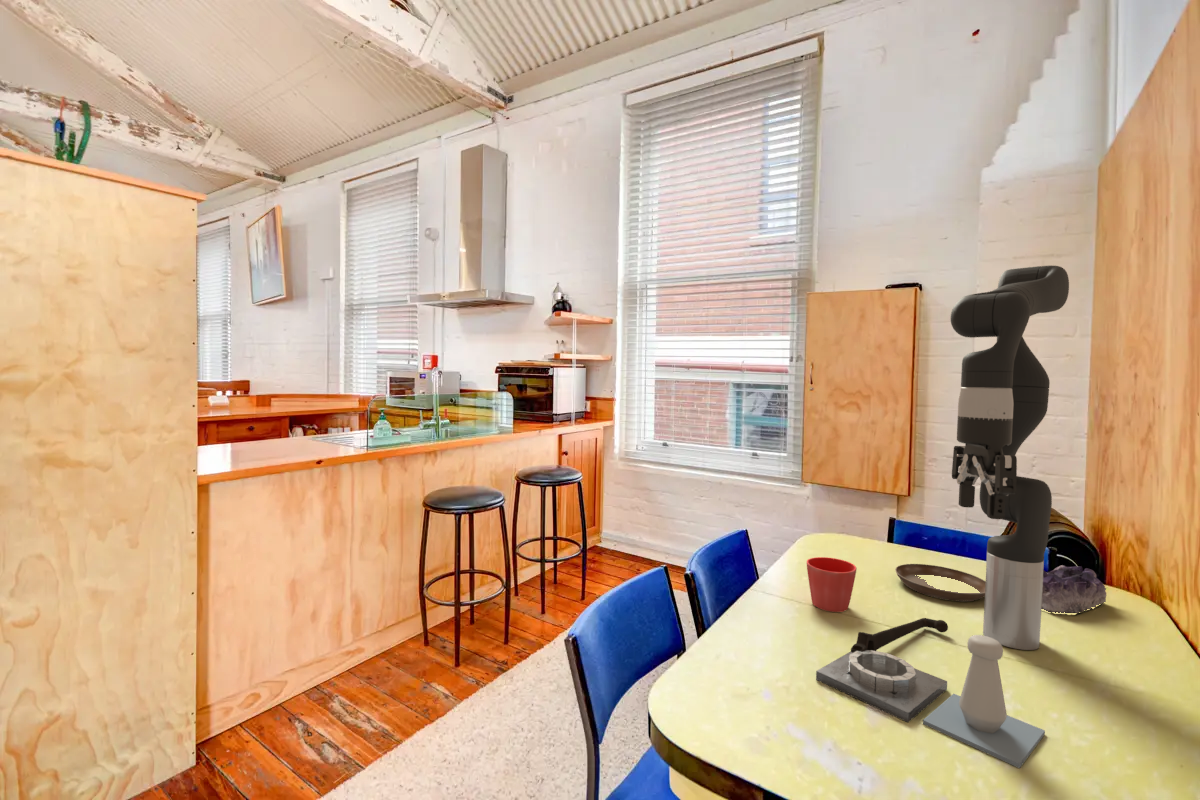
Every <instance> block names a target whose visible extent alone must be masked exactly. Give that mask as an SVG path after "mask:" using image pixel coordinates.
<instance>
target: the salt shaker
mask: <svg viewBox="0 0 1200 800" xmlns="http://www.w3.org/2000/svg"><path fill="white" fill-rule="evenodd" d="M967 649H968V651H969V653H971V657H970V662H969V665H968V669H967V673H966V676H965V681H964V683H963V687H962V690H961V695H960V696H961V697H960V701H959V706H960V708H961V710H962V713H963V715H964V718H965V721H966V723H967V724H968V725H970V726H971V727H973V728H975V729H976V730H978V731H982V732H987V733H992V734H993V733H994V732H996V731H997V730H999V728H1000V727H1001V725H1002V724H1003V723H1004V721H1005V720H1006V717H1007V715H1008V714H1007V708H1006V703H1005V698H1004V697H1005V696H1004V690H1003V684H1002V679H1001V672H1000V666H999V661H1000V660H1001V659H1002V657H1003V656H1004V655H1003V654H1004V648H1003V645H1001V644H1000V643H999V642H998V641H997V640H995V639H993V638H990V637H987V636H984V634H983V635H982V634H974V635H971V636H969V638H968V639H967Z"/></svg>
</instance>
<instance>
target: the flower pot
mask: <svg viewBox="0 0 1200 800" xmlns="http://www.w3.org/2000/svg"><path fill="white" fill-rule="evenodd" d="M806 571H807V576H808V578H807V580H808V587H809V593H810V598H811V603H812V605H813V606H814V607H817V608H818V609H820V610H822V611H825V612H831V613H843V612H846V611H847V610H849V606H850V602H851V599H852V595H853V589H854V585H855V579H856V574H857V566H856V565H855V564H854V563H852V562H850V561H847V560H843V559H841V558H835V557H834V558H833V557H825V556H821V557H818V556H817V557H810V558H808V559H807V560H806Z"/></svg>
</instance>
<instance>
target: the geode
mask: <svg viewBox="0 0 1200 800" xmlns="http://www.w3.org/2000/svg"><path fill="white" fill-rule="evenodd" d="M1106 591H1107V588H1106V585H1104V583H1103V582H1102V581H1101V580H1100V579H1099V578H1098V577H1097V573H1096V572H1095V571H1094V570H1093V569H1090V568H1087V567H1086V568H1083V566H1078V565H1077V566H1066V565H1063V564H1062V565H1059V566H1057V567H1055V568H1054V569H1053V570H1050V571H1047V572H1046V570H1044V569H1043V589H1042V609H1044V610H1046V611H1048V612H1055V613H1056V612H1058V613H1060V612H1061V613H1064V612H1065V613H1079V612H1083V611H1084V610H1087V609H1091V607H1096V605H1099V604H1102V603H1104V602H1106V601H1107V592H1106ZM1106 603H1107V602H1106ZM1104 604H1105V603H1104ZM1102 605H1103V604H1102ZM1091 610H1092V609H1091ZM1083 613H1084V612H1083Z"/></svg>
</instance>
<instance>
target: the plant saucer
mask: <svg viewBox="0 0 1200 800" xmlns="http://www.w3.org/2000/svg"><path fill="white" fill-rule="evenodd" d="M894 572H895V573H896V574H897V577H898V578H899V579H900V581H901V582H902V583H903V584H904V585H905V586H906V587H907V588H909V589H911V590H912V589H913V590H912V591H914V590H915V592H916V591H917V592H916V593H919V594H921V593H922V595H924V594H925V596H927V595H928V597H931V596H932V597H931V598H935V597H936V598H935V599H939V598H941V600H944V599H946V600H945V601H950V600H953V601H952V602H973V601H974V600H975V601H977V600H980V599H982V598H985V584H986V580H985V579H982V578H980V577H978V576H976V575H973V574H972V573H968V572H965V571H962V570H958V569H954V568H950V567H944V566H938V565H933V564H925V563H924V564H923V563H906V564H900V565H898V566H896V567H895V571H894ZM915 575H916V576H915ZM917 575H934V576H941V577H947V578H951V579H955V580H958V581H961V582H964V583H966V584H968V585H970V586H972V587H974V588H975V589H977V590H978V591H979V592H980V593H958V592H951V591H945V590H940V589H936V588H934V587H933V586H930V585H928V584H927V582H925V581H926V580H924V579H920V578H921V577H919V576H917ZM918 577H919V578H918Z"/></svg>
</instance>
